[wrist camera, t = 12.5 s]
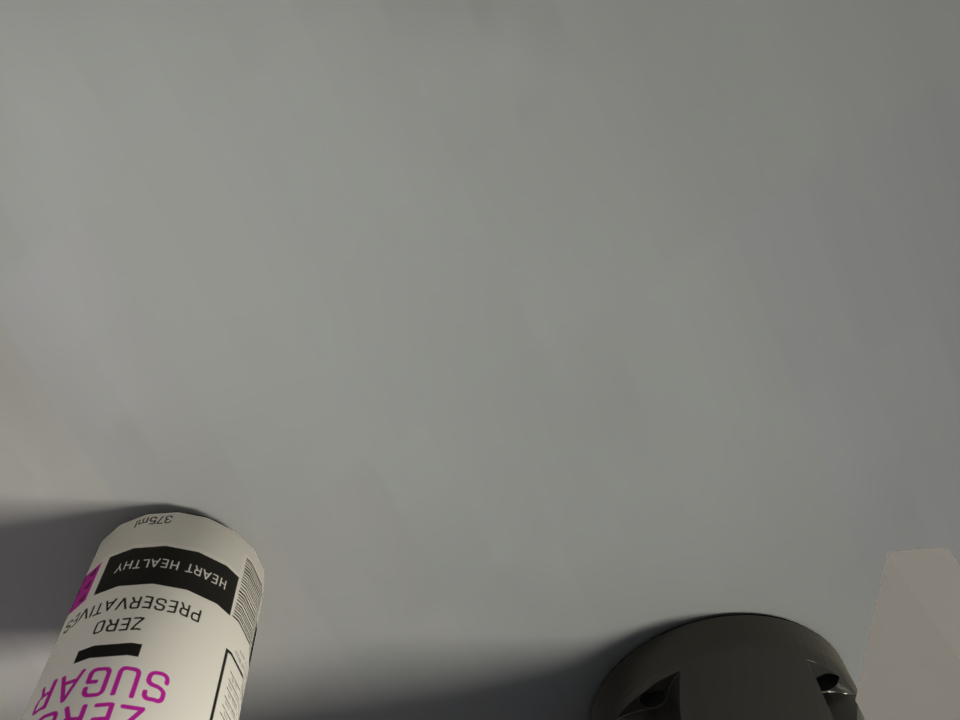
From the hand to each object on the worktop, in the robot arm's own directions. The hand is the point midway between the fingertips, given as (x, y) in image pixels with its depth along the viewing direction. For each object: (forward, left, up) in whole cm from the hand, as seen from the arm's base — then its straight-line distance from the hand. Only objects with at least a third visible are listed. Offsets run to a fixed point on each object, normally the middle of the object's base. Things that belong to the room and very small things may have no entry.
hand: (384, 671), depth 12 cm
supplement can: (-21, +13, -27) cm, 37 cm away
